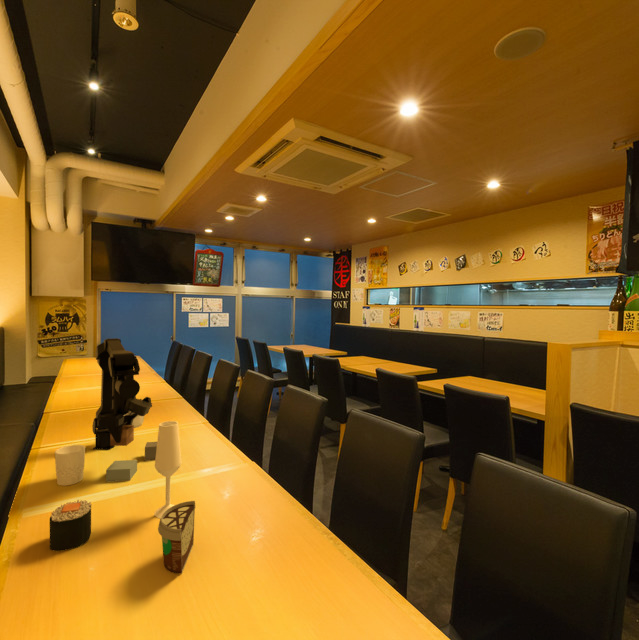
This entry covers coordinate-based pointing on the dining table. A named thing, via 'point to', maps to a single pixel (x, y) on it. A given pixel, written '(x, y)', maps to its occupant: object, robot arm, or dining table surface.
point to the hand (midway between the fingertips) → (122, 439)
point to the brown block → (150, 451)
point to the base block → (121, 470)
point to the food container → (177, 535)
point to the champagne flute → (167, 457)
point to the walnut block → (124, 436)
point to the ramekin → (138, 421)
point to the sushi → (70, 525)
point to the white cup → (69, 464)
